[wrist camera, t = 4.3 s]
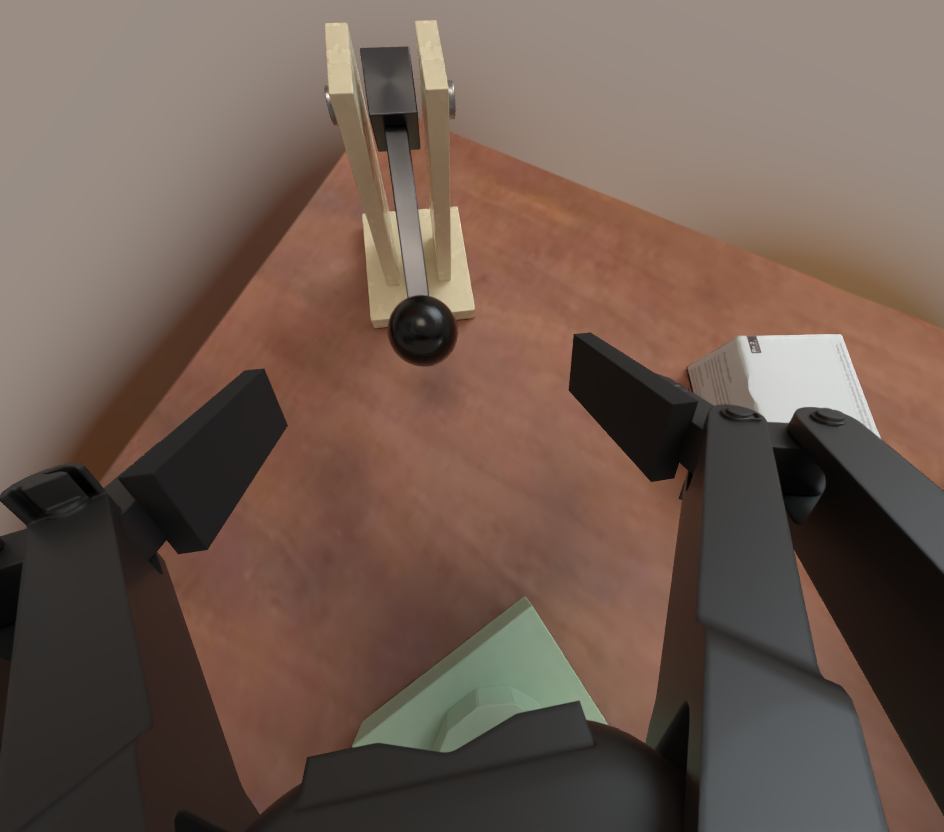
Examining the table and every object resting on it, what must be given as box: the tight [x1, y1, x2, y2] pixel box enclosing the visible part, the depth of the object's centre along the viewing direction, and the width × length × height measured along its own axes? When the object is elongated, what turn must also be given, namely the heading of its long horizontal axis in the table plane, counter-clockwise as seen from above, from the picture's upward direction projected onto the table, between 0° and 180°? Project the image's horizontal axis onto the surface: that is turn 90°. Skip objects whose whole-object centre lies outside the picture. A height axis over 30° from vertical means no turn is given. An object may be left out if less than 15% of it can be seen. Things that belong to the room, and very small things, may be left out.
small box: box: [688, 334, 881, 439], centre depth 24 cm, size 8×8×5 cm
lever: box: [360, 47, 458, 367], centre depth 17 cm, size 14×4×4 cm, turn 9°
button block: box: [352, 596, 608, 752], centre depth 18 cm, size 12×10×4 cm
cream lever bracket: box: [324, 21, 475, 328], centre depth 21 cm, size 10×8×14 cm
